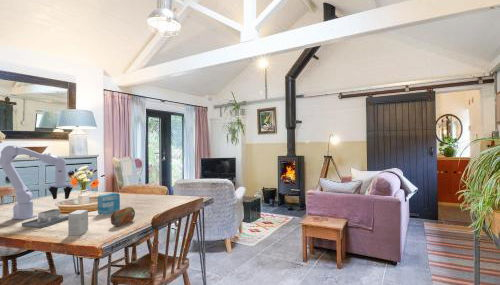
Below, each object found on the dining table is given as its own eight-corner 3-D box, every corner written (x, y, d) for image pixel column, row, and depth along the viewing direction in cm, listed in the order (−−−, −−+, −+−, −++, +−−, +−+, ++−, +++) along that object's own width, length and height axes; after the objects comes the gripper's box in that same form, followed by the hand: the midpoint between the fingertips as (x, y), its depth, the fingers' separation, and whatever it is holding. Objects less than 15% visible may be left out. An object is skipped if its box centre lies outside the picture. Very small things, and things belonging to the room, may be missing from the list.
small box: (77, 230, 138) (76, 209, 138) (88, 230, 139) (88, 209, 139) (67, 235, 130) (67, 214, 130) (80, 235, 131) (79, 213, 131)
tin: (114, 228, 142) (113, 212, 142) (109, 227, 143) (109, 211, 143) (135, 220, 156) (135, 205, 156) (131, 219, 157) (130, 205, 157)
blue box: (101, 215, 167) (101, 196, 167) (97, 214, 169) (97, 195, 169) (120, 211, 177) (119, 193, 177) (116, 210, 179) (116, 192, 179)
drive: (38, 222, 150) (38, 212, 150) (53, 217, 159) (53, 209, 159) (44, 222, 149) (44, 213, 149) (59, 218, 158) (59, 209, 158)
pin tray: (21, 226, 146) (21, 220, 146) (56, 216, 166) (56, 211, 166) (40, 228, 143) (40, 222, 143) (73, 217, 162) (73, 212, 162)
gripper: (44, 178, 168) (44, 200, 168) (67, 178, 168) (67, 200, 168) (53, 176, 175) (53, 197, 175) (75, 176, 175) (75, 197, 175)
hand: (60, 198), depth 172 cm, fingers open, 7 cm apart
